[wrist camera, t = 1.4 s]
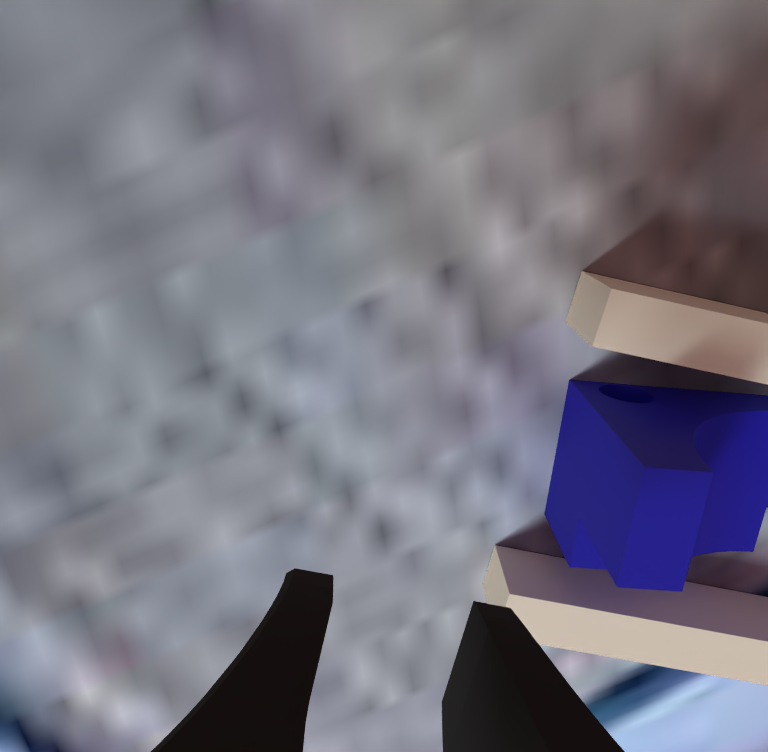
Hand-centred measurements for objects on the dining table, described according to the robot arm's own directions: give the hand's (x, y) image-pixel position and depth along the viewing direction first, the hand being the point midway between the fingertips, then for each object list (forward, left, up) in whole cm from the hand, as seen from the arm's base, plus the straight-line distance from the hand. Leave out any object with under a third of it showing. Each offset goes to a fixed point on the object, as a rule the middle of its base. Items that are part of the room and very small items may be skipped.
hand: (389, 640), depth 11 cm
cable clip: (+1, -11, -10) cm, 15 cm away
